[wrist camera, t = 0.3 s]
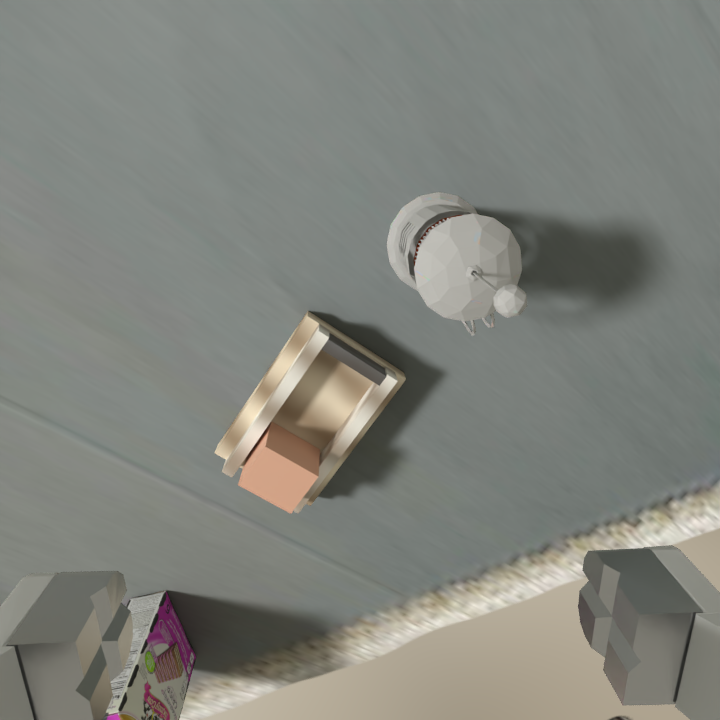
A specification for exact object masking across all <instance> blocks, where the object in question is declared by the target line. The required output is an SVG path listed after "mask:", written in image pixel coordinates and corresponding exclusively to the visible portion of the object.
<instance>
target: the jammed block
mask: <svg viewBox="0 0 720 720" xmlns="http://www.w3.org/2000/svg"><path fill="white" fill-rule="evenodd" d="M319 457H320V449H319V448H317V447H315V446H313V445H312V444H310V443H308V442H306V441H305V440H303V439H301V438H300V437H298V436H296V435H294V434H293V433H291V432H289V431H287V430H286V429H284V428H282V427H281V426H279V425H277V424H275V423H274V422H272V421H271V422H270V424H269V425H268V427H267V428H266V429H265V431H264V432H263V434H262V435H261V437H260V438H259V440H258V441H257V442H256V444H255V445H254V447H253V448H252V450H251V451H250V453H249V454H248V455H247V457H246V460H245V463H244V467H243V470H242V474H241V477H240V480H239V484H238V485H239V486H241V487H243V488H244V489H246V490H248V491H250V492H252V493H254V494H255V495H257V496H259V497H261V498H263V499H265V500H267V501H268V502H270V503H272V504H274V505H276V506H278V507H279V508H281V509H283V510H285V511H287V512H289V513H292V512H293V510H294V509H295V508H296V506H297V505H298V504H299V502H300V501H301V500H302V498H303V497H304V496H305V494H306V493H307V492H308V490H309V489H310V488H311V486H312V485H313V484H314V482H315V481H316V480H317V478H318V477H319Z"/></svg>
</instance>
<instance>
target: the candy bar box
mask: <svg viewBox="0 0 720 720" xmlns="http://www.w3.org/2000/svg"><path fill="white" fill-rule="evenodd" d="M127 608H128V609H129V610H130V611H131V616H132V622H133V639H132V644H131V649H130V655H129V658H128V660H127V663H126V665H125V668H124V670H123V672H122V673H120V674H119V675H118V676H117V677H116V678H115V679H113V680H112V681H111V687H112V692H113V697H112V699H111V701H110V704H109V706H108V708H107V711H106V713H105V715H104V718H103V720H179V718H180V714H181V710H182V708H183V704H184V700H185V696H186V692H187V689H188V685H189V681H190V677H191V674H192V670H193V667H194V663H195V660H196V655H195V653H194V651H193V649H192V647H191V645H190V642H189V640H188V638H187V636H186V634H185V632H184V630H183V627H182V625H181V623H180V621H179V618H178V616H177V614H176V612H175V610H174V607H173V605H172V603H171V601H170V598H169V596H168V594H167V592H166V591H161V592H156V593H153V594H149V595H145V596H140V597H135V598H131V599H130V600H129V602H128V604H127Z"/></svg>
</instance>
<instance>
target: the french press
mask: <svg viewBox="0 0 720 720" xmlns="http://www.w3.org/2000/svg"><path fill="white" fill-rule="evenodd" d="M387 250H388V255H389V261H390V264H391V266H392V268H393V269H394V271H395V272H396V274H397V275H398V277H399V278H400V280H402V281H403V282H405V283H406V284H408V285H409V286H411V287H412V288H414V289H415V290H418V291H419V293H420V295H421V296H422V298H423V300H424V301H425V303H426V304H427V306H428V307H429V308H431V309H432V310H434V311H435V312H437V313H438V314H440V315H441V316H442V317H444V318H449V319H454V320H460V321H462V322H463V324H464V325H465V327H466V329H467V331H468V332H469V333H470V334H471V335H472V336H474V334H475V332H476V328H475V323H474V320H475V319H480V318H482V320H483V321H484V323H485V324H486V325H487V326H488V327H489V328H493V327H494V322H495V319H494V314H493V312H495V311H496V310H497V312H499V313H500V314H501V315H503V316H504V317H506V318H509V317H513V316H518V315H520V314H521V313H522V312H523V311H524V309H525V308H526V307H527V299H526V292H524V291H523V290H522V289H521V288H519V287H518V286H517V285H518V282H519V278H520V275H521V272H522V261H521V250H520V247H519V245H518V243H517V241H516V239H515V237H514V236H513V234H512V232H511V230H510V229H508V228H507V227H506V226H504V225H503V224H501V223H500V222H499V221H497V220H496V219H494V218H492V217H487V216H482V215H478V213H477V212H476V210H475V208H474V207H473V206H471V205H470V204H469V203H467V202H466V201H464V200H463V199H462V198H460V197H459V196H456V195H451V194H446V193H442V192H437V193H432V194H427V195H422V196H419V197H417V198H416V199H414V200H413V201H411V202H410V203H408V204H407V205H405V206H404V207H402V209H401V210H400V212H399V213H398V215H397V216H396V218H395V219H394V221H393V222H392V224H391V226H390V231H389V236H388V240H387ZM488 315H490V316H491V319H492V324H491V325H490V324H489V323H488V322H487V321H486V319H485V317H487V316H488ZM466 321H471V324H472V327H473V332H472V331H471V330H470V329H469V327H468V325H467V323H466Z"/></svg>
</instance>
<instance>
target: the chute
mask: <svg viewBox="0 0 720 720" xmlns="http://www.w3.org/2000/svg"><path fill="white" fill-rule="evenodd" d="M405 380H406V377H405V375H404V372H402V371H401V370H399V369H398V368H396V367H395V366H393V365H391V364H390V363H388V362H387V361H385V360H384V359H382V358H381V357H379V356H377V355H376V354H374V353H373V352H371V351H370V350H368V349H367V348H365V347H364V346H362V345H360V344H359V343H357V342H356V341H354V340H353V339H351V338H350V337H348V336H346V335H345V334H343V333H342V332H340V331H339V330H337V329H336V328H334V327H332V326H331V325H329V324H328V323H326V322H325V321H323V320H322V319H320V318H318V317H317V316H315V315H314V314H312V313H311V312H309V311H308V312H307V313H306V315H305V316H304V318H303V319H302V321H301V322H300V324H299V325H298V327H297V328H296V329H295V331H294V332H293V334H292V335H291V337H290V338H289V340H288V341H287V343H286V344H285V346H284V347H283V349H282V350H281V352H280V353H279V355H278V356H277V358H276V359H275V361H274V362H273V364H272V365H271V367H270V368H269V370H268V371H267V373H266V374H265V376H264V377H263V379H262V380H261V381H260V383H259V384H258V386H257V387H256V389H255V390H254V392H253V393H252V395H251V396H250V398H249V399H248V401H247V402H246V404H245V405H244V407H243V408H242V410H241V411H240V413H239V414H238V416H237V417H236V419H235V420H234V422H233V423H232V425H231V426H230V428H229V429H228V430H227V432H226V433H225V435H224V436H223V438H222V439H221V441H220V442H219V444H218V446H217V448H216V451H215V454H217V455H219V456H220V457H222V458H224V459H226V462H225V464H224V467H223V470H222V472H223V473H225V474H227V475H228V476H230V477H233V475H234V474H235V473H236V471H237V470H238V468H239V467H240V468H242V469H243V467H244V463H245V460H246V457H247V455H248V454H249V453H250V451H251V450H252V448H253V447H254V445H255V444H256V442H257V441H258V440H259V438H260V437H261V435H262V434H263V432H264V431H265V429H266V428H267V427H268V425H269V424H270V422H271V421H272V422H274V423H275V424H277V425H279V426H281V427H282V428H284V429H286V430H287V431H289V432H291V433H293V434H294V435H296V436H298V437H300V438H301V439H303V440H305V441H306V442H308V443H310V444H312V445H313V446H315V447H317V448H319V449H320V457H319V477H318V478H317V480H316V481H315V482H314V484H313V485H312V486H311V488H310V489H309V490H308V492H307V493H306V494H305V496H304V497H303V498H302V500H301V501H300V502H299V504H298V505H297V506H296V508H295V509H294V510H293V511H295V512H296V513H299V512H300V511H301V509H302V508H303V507H304V505H305V504H308V505H309V506H311V504H312V503H313V502H314V501H315V499H316V498H317V497H318V495H319V494H320V493H321V491H322V490H323V489H324V487H325V486H326V485H327V483H328V482H329V481H330V479H331V478H332V477H333V475H334V474H335V473H336V471H337V470H338V469H339V467H340V466H341V465H342V463H343V462H344V461H345V459H346V458H347V457H348V456H349V454H350V453H351V452H352V450H353V449H354V448H355V446H356V445H357V444H358V442H359V441H360V440H361V438H362V437H363V436H364V434H365V433H366V432H367V430H368V429H369V428H370V426H371V425H372V424H373V422H374V421H375V420H376V418H377V417H378V416H379V415H380V413H381V412H382V411H383V409H384V408H385V407H386V405H387V404H388V403H389V401H390V400H391V399H392V397H393V396H394V395H395V393H396V392H397V391H398V389H399V388H400V387H401V385H402V384H403V383H404V381H405Z"/></svg>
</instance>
